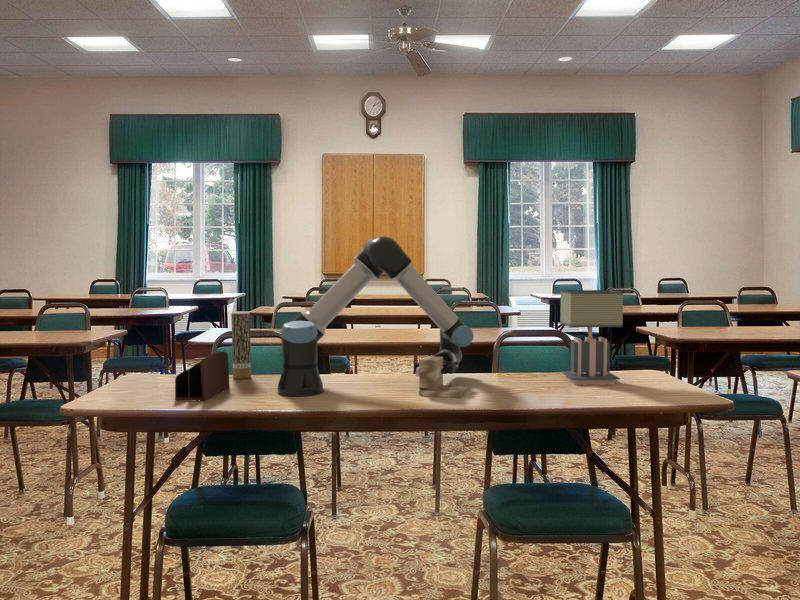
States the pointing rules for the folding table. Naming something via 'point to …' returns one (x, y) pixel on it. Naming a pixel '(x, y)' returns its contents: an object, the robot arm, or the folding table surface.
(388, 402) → the folding table surface
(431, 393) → the board
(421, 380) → the block
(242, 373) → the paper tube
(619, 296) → the desk lamp
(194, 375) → the letter holder
